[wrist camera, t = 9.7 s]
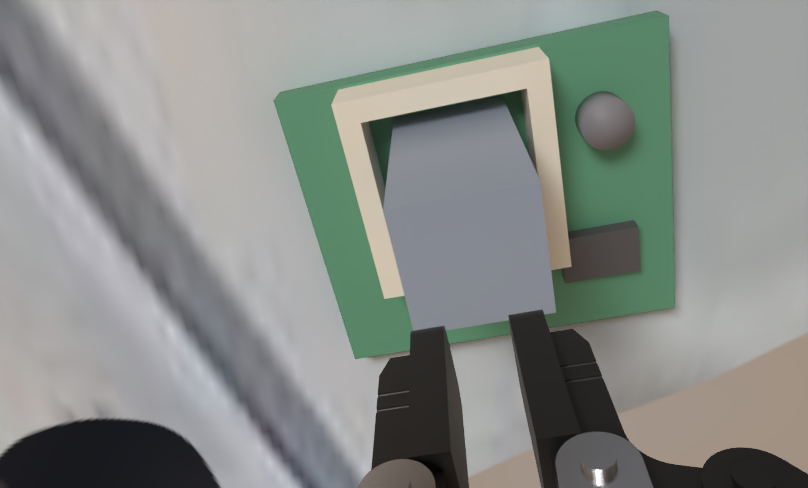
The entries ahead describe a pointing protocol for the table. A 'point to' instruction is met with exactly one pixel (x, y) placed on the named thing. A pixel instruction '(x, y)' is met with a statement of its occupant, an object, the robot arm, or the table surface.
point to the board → (548, 150)
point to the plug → (466, 217)
